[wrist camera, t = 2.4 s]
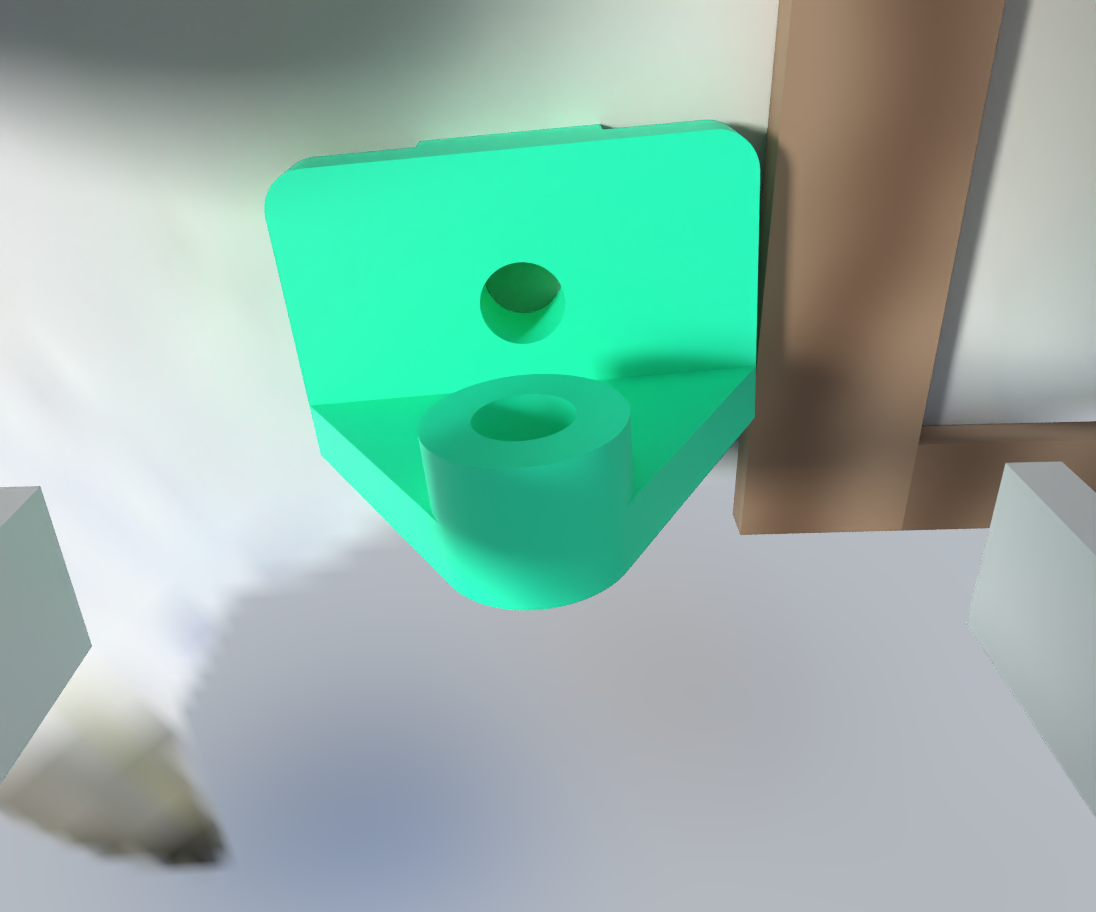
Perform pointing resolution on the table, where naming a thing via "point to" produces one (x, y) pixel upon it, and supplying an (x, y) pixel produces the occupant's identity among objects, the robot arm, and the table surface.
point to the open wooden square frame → (872, 276)
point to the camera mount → (526, 340)
